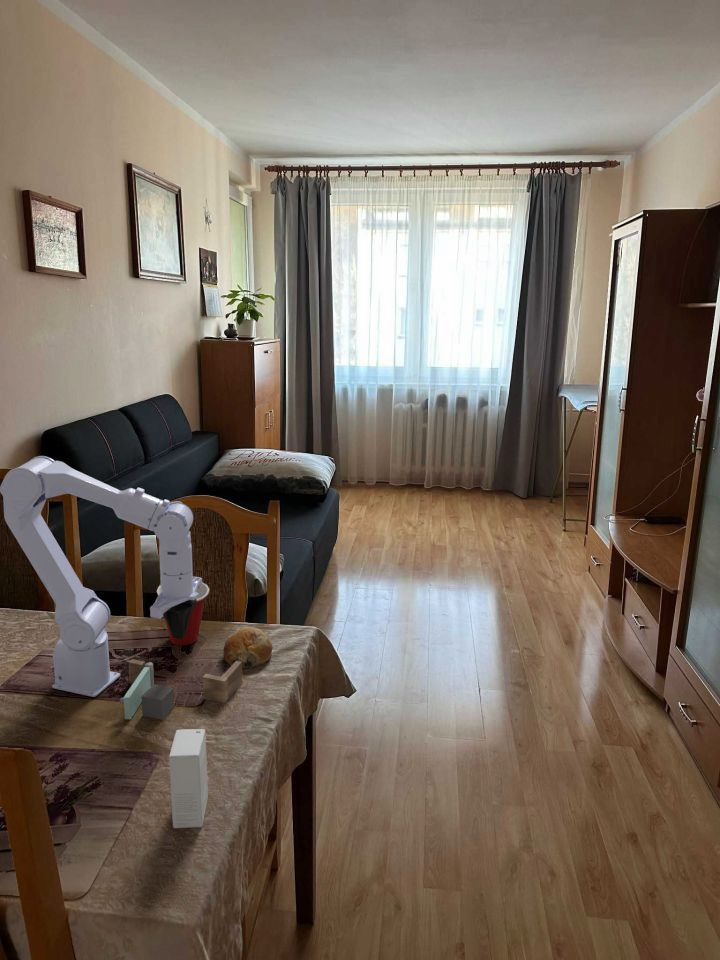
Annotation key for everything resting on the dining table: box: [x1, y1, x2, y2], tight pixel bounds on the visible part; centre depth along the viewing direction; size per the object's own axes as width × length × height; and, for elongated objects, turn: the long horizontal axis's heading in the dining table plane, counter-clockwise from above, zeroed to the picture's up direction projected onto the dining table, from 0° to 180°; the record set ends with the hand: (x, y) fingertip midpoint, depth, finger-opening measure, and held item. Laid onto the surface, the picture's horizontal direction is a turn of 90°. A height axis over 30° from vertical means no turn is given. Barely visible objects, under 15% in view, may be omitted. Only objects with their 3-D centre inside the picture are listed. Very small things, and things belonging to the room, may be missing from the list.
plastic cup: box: [156, 581, 210, 646], centre depth 144 cm, size 11×11×12 cm
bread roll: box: [223, 626, 273, 669], centre depth 139 cm, size 10×10×8 cm
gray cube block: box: [141, 683, 175, 721], centre depth 119 cm, size 4×4×4 cm
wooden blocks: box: [128, 658, 243, 704], centre depth 128 cm, size 20×7×4 cm, turn 74°
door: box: [119, 661, 155, 720], centre depth 122 cm, size 12×2×4 cm, turn 177°
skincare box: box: [168, 728, 209, 829], centre depth 95 cm, size 6×4×12 cm
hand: (179, 636), depth 126 cm, fingers closed
